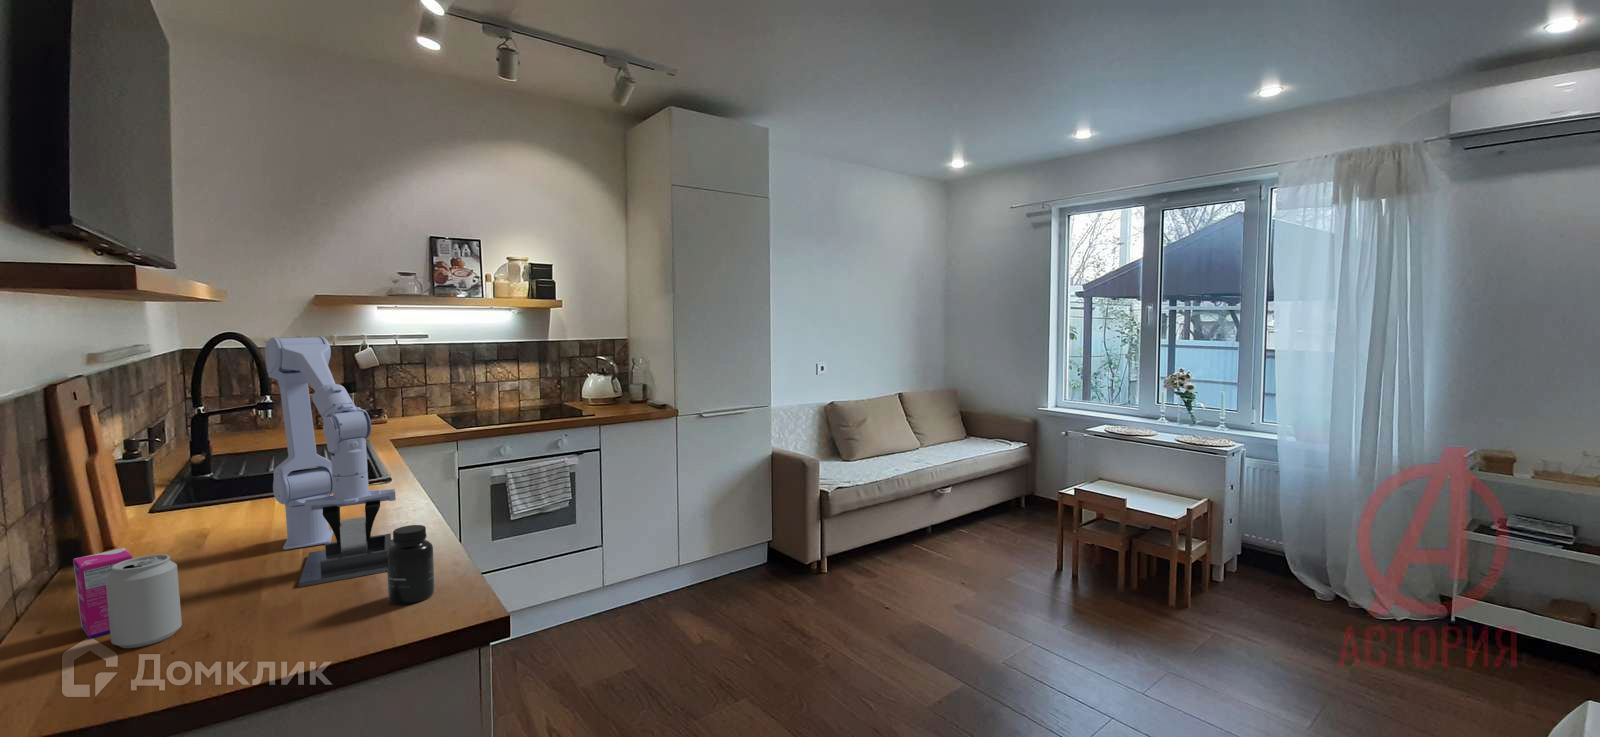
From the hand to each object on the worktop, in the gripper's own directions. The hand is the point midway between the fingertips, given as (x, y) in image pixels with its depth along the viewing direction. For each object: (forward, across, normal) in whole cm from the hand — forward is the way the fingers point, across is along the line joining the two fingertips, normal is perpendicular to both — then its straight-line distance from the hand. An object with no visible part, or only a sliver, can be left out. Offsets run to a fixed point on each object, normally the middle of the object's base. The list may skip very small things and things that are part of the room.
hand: (354, 541), depth 127 cm
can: (+4, -25, -20) cm, 32 cm away
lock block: (+2, 0, 0) cm, 2 cm away
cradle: (+4, 0, 0) cm, 4 cm away
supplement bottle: (+4, +9, -25) cm, 27 cm away
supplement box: (+4, -31, -12) cm, 34 cm away
